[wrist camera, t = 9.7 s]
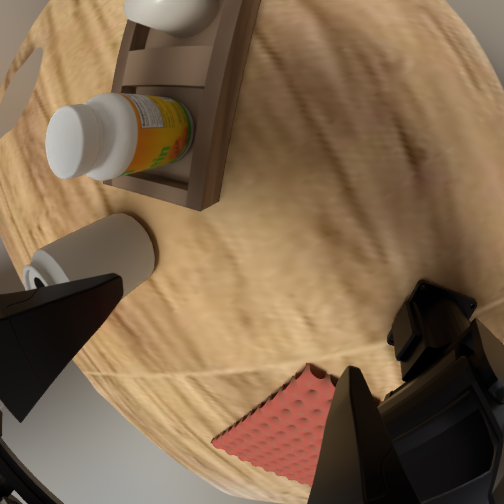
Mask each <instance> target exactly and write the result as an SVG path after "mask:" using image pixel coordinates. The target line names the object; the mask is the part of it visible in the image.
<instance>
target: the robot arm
mask: <svg viewBox="0 0 504 504" xmlns="http://www.w3.org/2000/svg"><path fill="white" fill-rule="evenodd" d="M423 285H425V287H424V288H421V286H423ZM123 295H124V289H123V278H122V277H121V276H120V275H118V274H116V273H109V274H104V275H99V276H94V277H89V278H84V279H79V280H75V281H70V282H65V283H60V284H55V285H50V286H46V287H41V288H39V289H38V288H36V289H31V290H26V291H21V292H14V293H7V294H0V409H1V407H3V406H4V405H5V406H6V407H7V409H8V410H9V411H10V412H11V413H12V414H13V415H14V417H15V418H16V419H17V420H18V421H19V422H20V423H21V422H22V421H23V420H24V419H25V417H26V416H27V415H28V413H29V412H30V411H31V409H32V408H33V407H34V405H35V404H36V403H37V402H38V400H39V399H40V398H41V397H42V395H43V394H44V393H45V391H46V390H47V389H48V387H49V386H50V385H51V384H52V382H53V381H54V380H55V379H56V378H57V376H58V375H59V374H60V373H61V372H62V370H63V369H64V368H65V367H66V365H67V364H68V363H69V362H70V361H71V360H72V358H73V357H74V356H75V355H76V354H77V353H78V351H79V350H80V349H81V348H82V347H83V346H84V345H85V343H86V342H87V341H88V340H89V339H90V338H91V337H92V336H93V334H94V333H95V332H96V331H97V330H98V329H99V328H100V327H101V325H102V324H103V323H104V322H105V320H106V319H107V318H108V316H109V315H110V314H111V312H112V311H113V310H114V308H115V307H116V306H117V304H118V303H119V302H120V300H121V299H122V297H123ZM471 304H473V305H472V306H470V305H471ZM476 307H477V302H476V301H475V299H473V298H471V297H468V296H465V295H463V294H460V293H458V292H455V291H452V290H450V289H447V288H445V287H442V286H439V285H437V284H434V283H431V282H429V281H426V280H421V281H419V282H418V283H417V285H416V287H415V289H414V291H413V293H412V295H411V297H410V299H409V300H408V301H407V302H406V303H404V305H403V307H402V309H401V311H400V312H399V314H398V316H397V318H396V319H395V321H394V323H393V324H392V330H391V332H390V333H389V335H388V337H387V343H388V344H389V345H392V346H394V347H395V356H396V359H397V361H400V363H401V373H402V380H403V381H405V383H404V384H403V385H401V386H400V387H399V388H397V389H396V390H394V391H391V392H389V393H388V394H387V395H386V396H385V399H384V402H382V403H381V404H380V405H379V406H378V407H377V405H376V403H375V401H374V399H373V396H372V394H371V392H370V390H369V388H368V385H367V383H366V381H365V379H364V377H363V374H362V372H361V370H360V369H359V368H357V367H354V366H348V367H347V368H346V369H345V371H344V372H343V374H342V375H341V377H340V378H339V380H338V382H337V384H336V388H335V392H334V395H333V399H332V402H331V406H330V409H329V413H328V416H327V420H326V424H325V429H324V434H323V439H322V444H321V449H320V454H319V458H318V463H317V467H316V472H315V476H314V480H313V484H312V488H311V492H310V495H309V499H308V503H307V504H504V345H503V344H502V343H501V342H500V341H499V340H498V339H497V338H496V337H495V336H494V335H493V334H492V333H491V332H490V331H489V330H488V329H487V328H486V327H485V326H484V325H483V324H482V323H481V322H480V321H479V320H478V319H477V318H474V320H473V321H472V322H471V323H470V321H469V318H470V317H471V315H472V314H473V312H474V310H475V309H476ZM391 339H394V340H391ZM1 436H2V412H1V410H0V504H22V503H21V502H20V501H19V500H18V499H17V498H15V497H14V496H13V495H11V493H12V492H13V490H15V491H16V492H17V493H18V494H19V495H20V496H21V497H22V499H23V500H24V501H25V502H26V503H28V504H64V503H63V502H62V501H61V500H59V499H58V498H57V497H56V496H55V495H54V494H53V493H52V492H50V491H49V490H48V489H47V488H46V487H45V486H44V485H43V484H42V483H41V482H40V481H39V480H38V479H37V478H36V477H35V476H34V475H33V474H32V473H31V472H30V471H29V470H28V469H27V468H26V467H25V466H24V464H23V463H22V462H21V461H20V460H19V459H18V458H17V457H16V455H15V454H14V453H13V452H12V451H11V449H10V448H9V447H8V446H7V445H6V443H5V442H4V441H3V439H2V438H1Z"/></svg>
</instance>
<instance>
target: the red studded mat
mask: <svg viewBox="0 0 504 504" xmlns="http://www.w3.org/2000/svg"><path fill="white" fill-rule="evenodd" d="M309 366H310V364H307V363H306V367H305V370H304V372H303V373H302V375H301V376H300V377H299V378H298V379H296V376H297V375H298V374H297V373H296V374H295V376H292V380H291V382H290V384H289V385H288V387H287V388H286V389H285V390H283V388H284V386H285V385H284V384H283V386H282V387H280V389H279V391H278V393H277V395H276V396H275V397H274V399H272V400H271V398H272V396H273V394H271V396H269V398H268V400H267V402H266V403H265V405H264V406H263V407H262V408H261V406H262V404H263V402H261V404H259V406H258V408H257V410H256V411H255V413H254V414H253V415H252V412H253V411H254V410H253V409H252V411H250V413H249V415H248V416H247V418H246V419H245V420H244V418H245V416H244V417H242V419H241V421H240V422H239V424H238V425H237V426H236V424H237V423H238V422H237V421H236V423H234V425H233V427H232V429H231V430H230V428H231V426H230V427H228V429H227V431H226V432H225V431H223V432H222V433H221V435H219V434H218V436H216V438H215V440H214V438H213V439H212V441H211V443H212V444H213V446H214V447H215V448H217V449H223V450H225V451H226V453H227V454H229V455H235V456H238V458H239V459H240V460H241V461H248V462H251V464H252V465H253V466H256V467H257V466H259V467H263V469H264V470H265V471H268V472H269V471H271V472H275V474H276V475H278V476H286V477H287V478H288V479H289V480H297V481H298V482H299V483H300V484H309V486H310V487H312V484H313V480H314V476H315V472H316V467H317V463H318V458H319V454H320V449H321V444H322V439H323V434H324V429H325V424H326V420H327V416H328V413H329V409H330V406H331V402H332V399H333V395H334V392H335V387H334V386H333V385H332V383H331V380H330V376H331V375H327V374H326V376H325V378H323V379H318V378H316V377H315V376H313V375H312V373H311V371H310V368H309ZM325 373H326V372H325ZM379 402H380V399H379ZM383 402H384V401H383ZM381 403H382V402H380V404H381ZM380 404H379V405H380ZM243 420H244V421H243ZM229 430H230V431H229ZM224 432H225V434H224ZM223 434H224V435H223ZM219 436H220V437H219ZM218 437H219V438H218ZM213 440H214V441H213Z"/></svg>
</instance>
